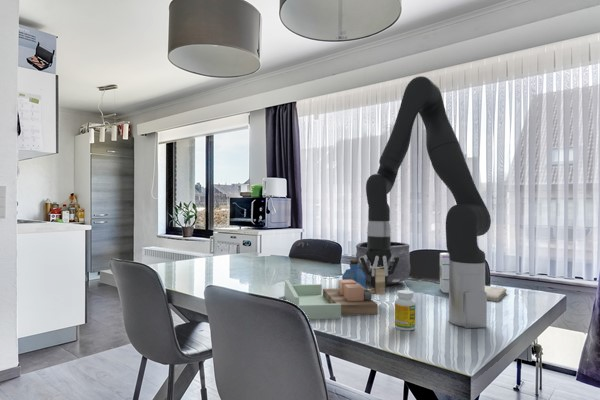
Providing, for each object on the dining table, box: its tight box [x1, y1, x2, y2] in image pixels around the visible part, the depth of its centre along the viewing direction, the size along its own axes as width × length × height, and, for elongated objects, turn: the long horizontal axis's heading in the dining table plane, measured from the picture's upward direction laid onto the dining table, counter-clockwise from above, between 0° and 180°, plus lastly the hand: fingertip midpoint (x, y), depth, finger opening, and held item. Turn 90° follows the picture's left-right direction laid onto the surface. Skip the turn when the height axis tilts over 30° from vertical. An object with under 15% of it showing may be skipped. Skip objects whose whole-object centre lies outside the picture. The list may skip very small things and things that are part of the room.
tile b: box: [337, 279, 357, 295], centre depth 130 cm, size 5×5×4 cm
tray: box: [283, 279, 342, 320], centre depth 124 cm, size 28×13×6 cm, turn 8°
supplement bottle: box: [394, 289, 417, 331], centre depth 103 cm, size 5×5×10 cm
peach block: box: [344, 284, 364, 301], centre depth 122 cm, size 5×5×4 cm
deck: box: [322, 288, 378, 316], centre depth 126 cm, size 22×12×3 cm, turn 8°
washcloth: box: [485, 284, 507, 303], centre depth 143 cm, size 12×18×3 cm, turn 144°
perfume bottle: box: [341, 259, 367, 289], centre depth 143 cm, size 6×6×12 cm
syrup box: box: [439, 252, 449, 294], centre depth 148 cm, size 6×6×14 cm
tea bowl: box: [355, 241, 411, 286], centre depth 163 cm, size 25×22×17 cm
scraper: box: [357, 267, 386, 300], centre depth 127 cm, size 16×8×8 cm, turn 8°
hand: (378, 286), depth 127 cm, fingers closed on scraper, 3 cm apart
